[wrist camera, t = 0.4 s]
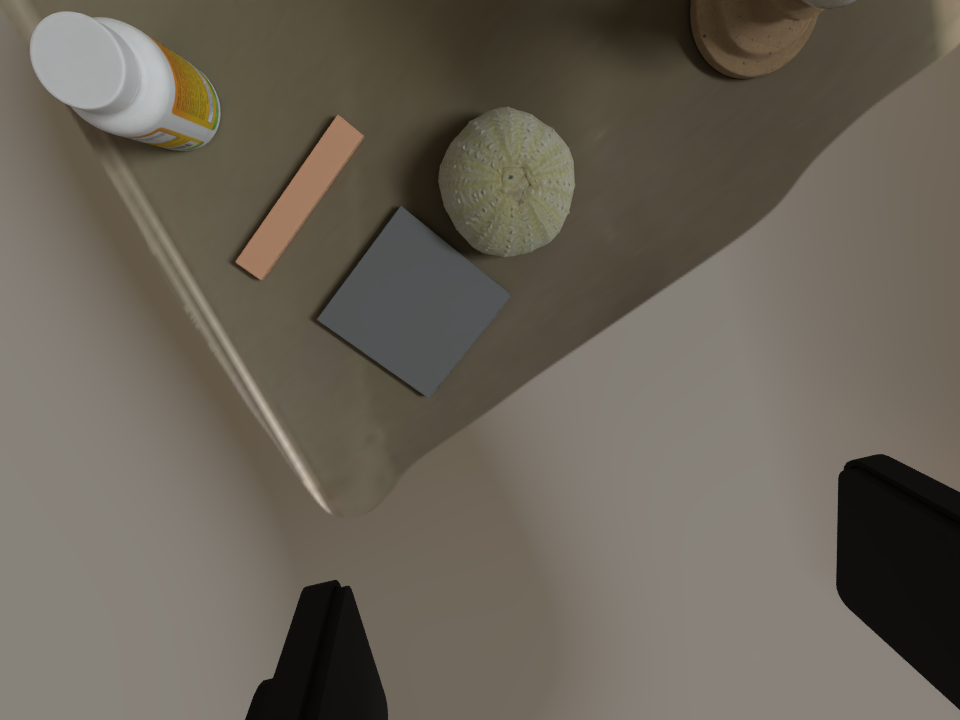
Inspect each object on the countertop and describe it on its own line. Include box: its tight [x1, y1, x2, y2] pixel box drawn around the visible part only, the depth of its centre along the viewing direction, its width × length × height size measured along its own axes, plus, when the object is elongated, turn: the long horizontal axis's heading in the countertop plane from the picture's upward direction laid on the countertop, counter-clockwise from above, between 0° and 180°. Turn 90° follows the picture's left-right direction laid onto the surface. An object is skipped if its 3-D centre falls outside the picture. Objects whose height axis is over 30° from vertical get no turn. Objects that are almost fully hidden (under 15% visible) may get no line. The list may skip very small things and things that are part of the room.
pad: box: [317, 206, 512, 398], centre depth 37 cm, size 10×10×1 cm
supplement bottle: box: [30, 12, 220, 151], centre depth 27 cm, size 5×5×10 cm
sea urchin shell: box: [438, 106, 575, 257], centre depth 33 cm, size 9×8×8 cm
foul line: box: [236, 115, 364, 280], centre depth 34 cm, size 12×2×1 cm, turn 141°
